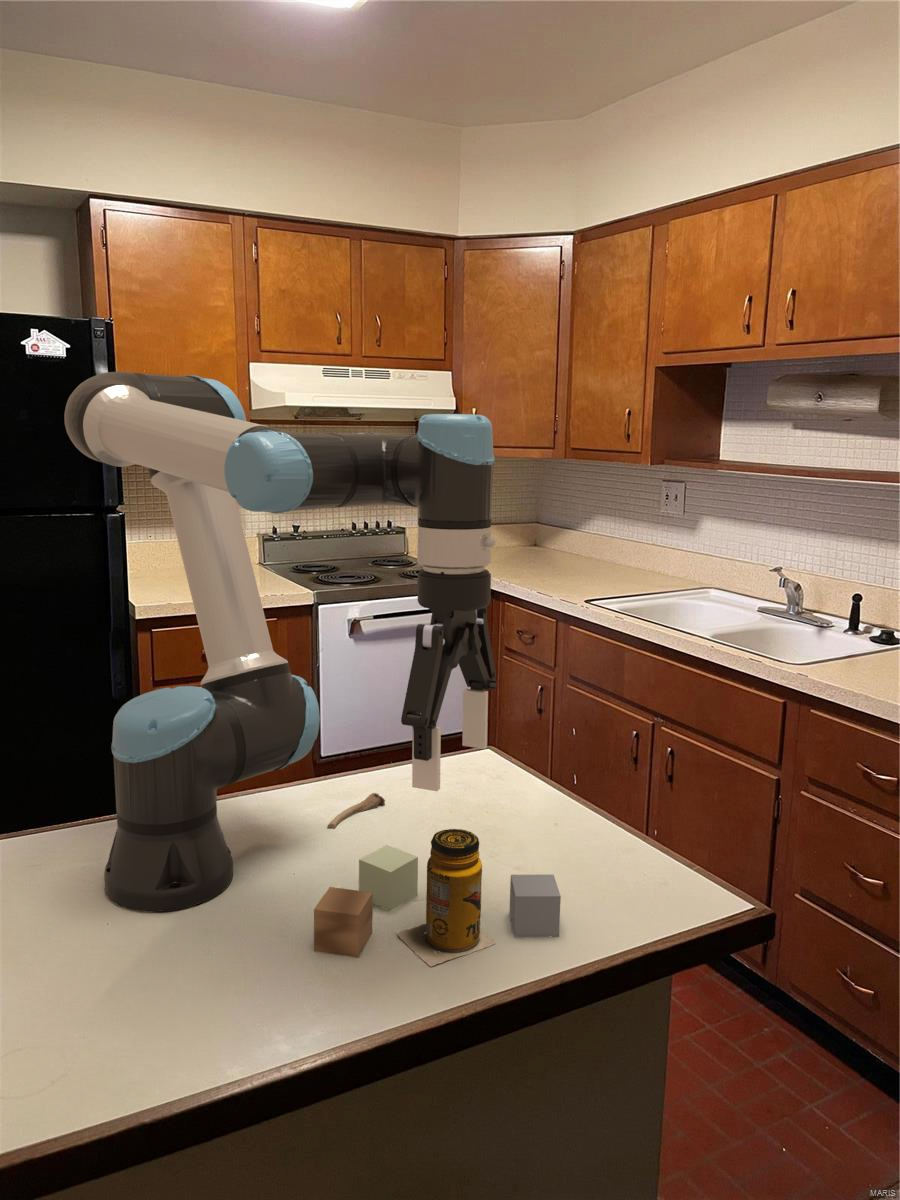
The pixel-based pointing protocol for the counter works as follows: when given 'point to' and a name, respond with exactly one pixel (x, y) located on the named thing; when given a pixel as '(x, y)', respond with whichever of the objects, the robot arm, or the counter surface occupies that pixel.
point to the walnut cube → (343, 922)
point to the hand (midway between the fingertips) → (451, 766)
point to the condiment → (450, 900)
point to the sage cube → (389, 876)
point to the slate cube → (534, 906)
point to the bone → (358, 808)
